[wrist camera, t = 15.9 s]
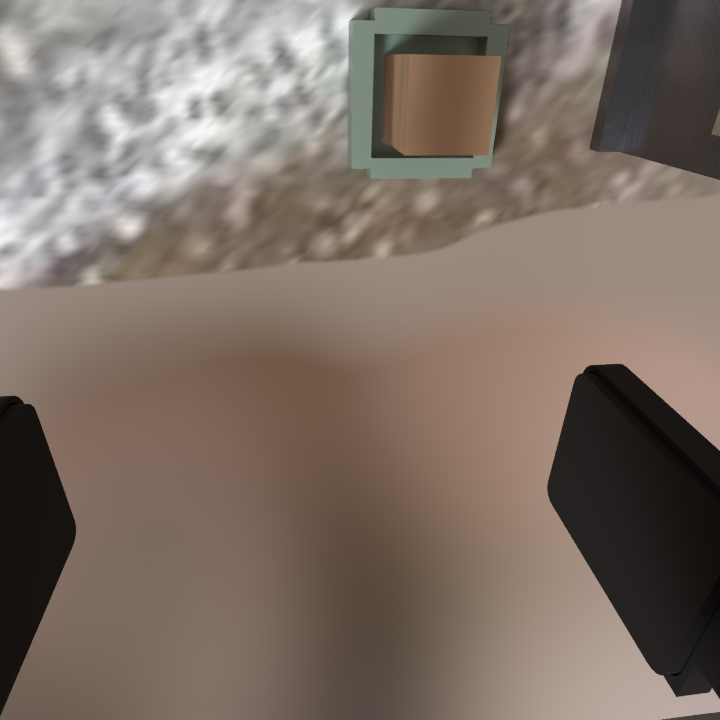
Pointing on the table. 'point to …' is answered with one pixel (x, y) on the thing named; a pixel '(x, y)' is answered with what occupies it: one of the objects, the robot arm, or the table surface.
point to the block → (439, 103)
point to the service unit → (664, 85)
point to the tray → (366, 83)
